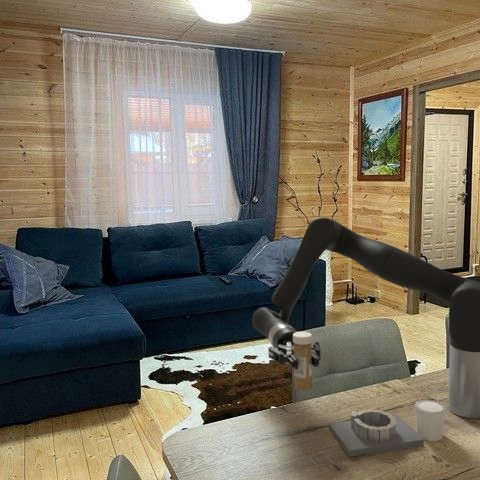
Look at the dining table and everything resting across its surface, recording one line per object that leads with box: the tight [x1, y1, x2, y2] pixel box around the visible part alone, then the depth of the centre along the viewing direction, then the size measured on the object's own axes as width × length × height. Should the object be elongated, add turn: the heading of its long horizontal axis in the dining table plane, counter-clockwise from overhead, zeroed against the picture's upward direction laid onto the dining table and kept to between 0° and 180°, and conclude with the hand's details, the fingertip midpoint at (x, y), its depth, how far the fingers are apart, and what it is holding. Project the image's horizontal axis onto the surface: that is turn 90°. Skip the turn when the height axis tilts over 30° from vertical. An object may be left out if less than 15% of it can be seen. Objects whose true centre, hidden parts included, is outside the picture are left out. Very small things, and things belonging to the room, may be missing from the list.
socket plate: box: [328, 413, 425, 458], centre depth 113 cm, size 18×12×2 cm, turn 101°
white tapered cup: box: [414, 399, 447, 442], centre depth 113 cm, size 7×7×7 cm
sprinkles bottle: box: [293, 331, 313, 392], centre depth 116 cm, size 5×5×14 cm
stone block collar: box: [350, 408, 396, 442], centre depth 113 cm, size 9×10×3 cm
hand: (306, 364), depth 113 cm, fingers closed on sprinkles bottle, 4 cm apart
